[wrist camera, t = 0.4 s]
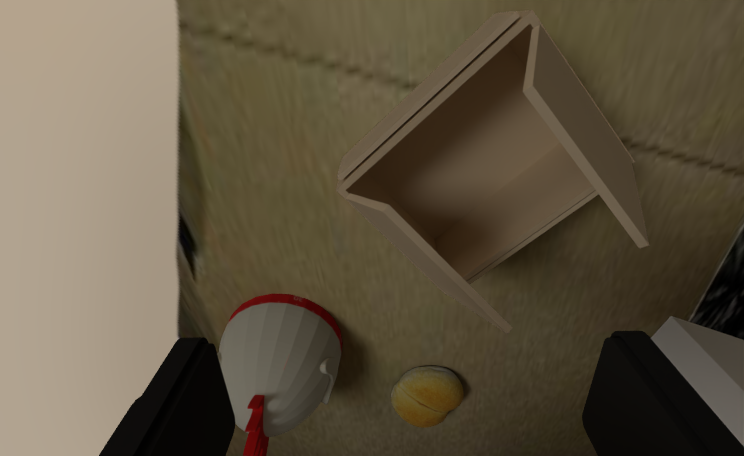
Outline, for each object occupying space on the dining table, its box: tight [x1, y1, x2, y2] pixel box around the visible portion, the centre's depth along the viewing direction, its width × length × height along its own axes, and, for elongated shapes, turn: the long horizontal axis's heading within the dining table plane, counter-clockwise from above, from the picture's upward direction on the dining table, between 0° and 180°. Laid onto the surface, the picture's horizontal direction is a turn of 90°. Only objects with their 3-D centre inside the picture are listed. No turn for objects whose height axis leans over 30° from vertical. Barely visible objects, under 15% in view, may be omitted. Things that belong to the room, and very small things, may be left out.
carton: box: [336, 10, 635, 295], centre depth 33 cm, size 17×14×9 cm
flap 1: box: [346, 193, 512, 334], centre depth 27 cm, size 1×11×9 cm, turn 44°
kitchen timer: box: [217, 294, 343, 456], centre depth 42 cm, size 14×14×15 cm
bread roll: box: [391, 366, 464, 428], centre depth 50 cm, size 8×9×4 cm
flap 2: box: [523, 24, 649, 248], centre depth 23 cm, size 1×11×9 cm, turn 43°
